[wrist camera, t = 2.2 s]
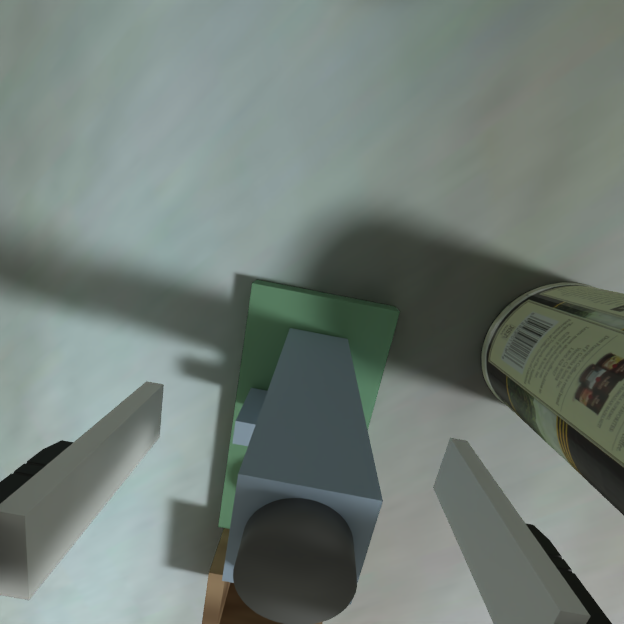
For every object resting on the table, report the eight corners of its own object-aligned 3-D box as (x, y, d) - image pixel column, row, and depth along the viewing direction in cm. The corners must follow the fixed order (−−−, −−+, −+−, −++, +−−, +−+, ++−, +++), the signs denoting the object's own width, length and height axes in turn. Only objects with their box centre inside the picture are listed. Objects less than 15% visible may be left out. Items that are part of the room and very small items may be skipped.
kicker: (260, 322, 21) (144, 490, 7) (376, 344, 21) (471, 550, 7) (248, 407, 23) (134, 669, 9) (355, 427, 23) (400, 717, 9)
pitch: (256, 279, 22) (252, 283, 20) (394, 306, 22) (399, 311, 21) (223, 511, 27) (218, 527, 26) (334, 531, 27) (335, 548, 26)
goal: (229, 512, 27) (209, 572, 22) (329, 530, 27) (330, 594, 23) (219, 577, 29) (198, 646, 25) (312, 594, 29) (310, 666, 25)
